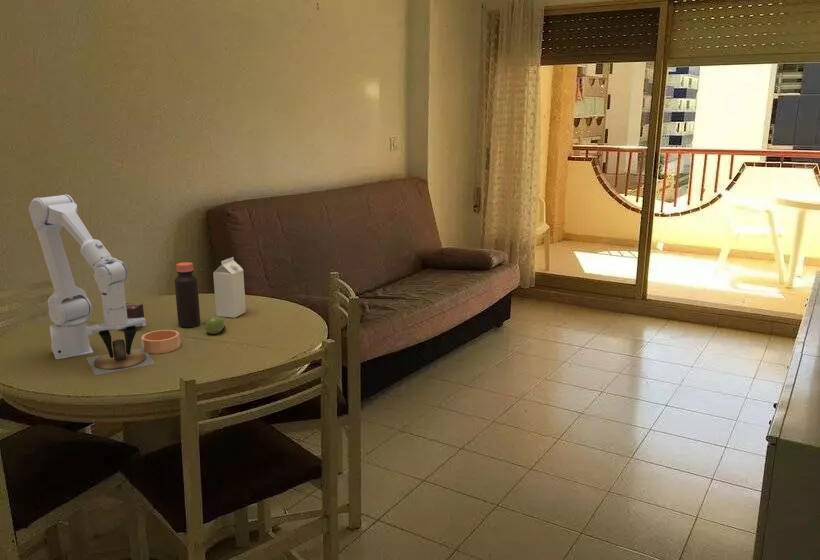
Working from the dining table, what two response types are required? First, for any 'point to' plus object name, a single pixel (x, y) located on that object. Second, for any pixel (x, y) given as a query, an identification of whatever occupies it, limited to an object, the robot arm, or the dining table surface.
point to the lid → (119, 357)
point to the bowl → (160, 341)
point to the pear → (214, 324)
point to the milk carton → (229, 289)
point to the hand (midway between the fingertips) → (119, 355)
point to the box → (134, 312)
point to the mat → (103, 371)
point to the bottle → (187, 296)
